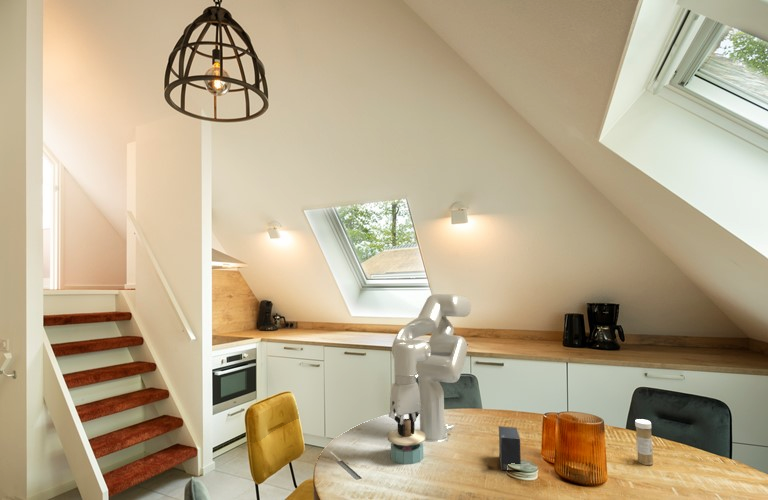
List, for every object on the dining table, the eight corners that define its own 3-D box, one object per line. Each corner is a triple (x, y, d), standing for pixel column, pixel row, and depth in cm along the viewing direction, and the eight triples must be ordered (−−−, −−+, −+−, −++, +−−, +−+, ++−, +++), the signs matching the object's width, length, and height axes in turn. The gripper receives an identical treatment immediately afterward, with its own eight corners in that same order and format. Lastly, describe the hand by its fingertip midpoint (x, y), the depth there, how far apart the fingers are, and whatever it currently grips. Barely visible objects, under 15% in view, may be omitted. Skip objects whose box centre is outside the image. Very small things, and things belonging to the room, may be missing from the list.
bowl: (411, 450, 151) (411, 436, 151) (429, 462, 141) (429, 446, 142) (385, 457, 145) (384, 443, 146) (402, 470, 136) (401, 454, 136)
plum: (408, 453, 146) (408, 443, 146) (414, 457, 143) (414, 446, 143) (399, 456, 144) (399, 445, 144) (405, 460, 141) (405, 449, 141)
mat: (375, 453, 149) (375, 451, 149) (397, 469, 136) (397, 467, 136) (336, 463, 142) (336, 461, 142) (356, 481, 129) (356, 479, 129)
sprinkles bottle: (642, 458, 141) (640, 417, 142) (656, 464, 137) (654, 421, 138) (634, 461, 139) (631, 420, 140) (648, 466, 135) (645, 424, 136)
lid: (411, 429, 152) (411, 412, 153) (433, 440, 141) (432, 422, 142) (380, 436, 146) (380, 418, 146) (400, 448, 135) (400, 429, 135)
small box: (522, 472, 133) (521, 438, 134) (501, 470, 134) (499, 437, 135) (518, 458, 143) (517, 426, 144) (498, 456, 145) (497, 425, 145)
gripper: (418, 374, 152) (419, 426, 151) (379, 380, 144) (380, 435, 143) (431, 378, 146) (432, 432, 145) (390, 384, 138) (391, 442, 136)
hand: (406, 433), depth 144 cm, fingers closed on lid, 3 cm apart
